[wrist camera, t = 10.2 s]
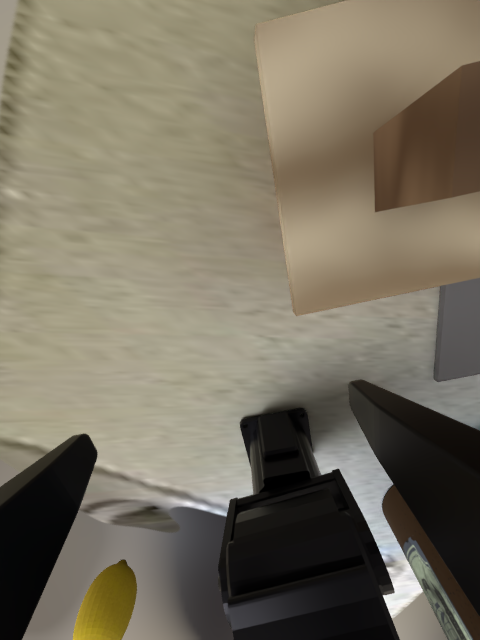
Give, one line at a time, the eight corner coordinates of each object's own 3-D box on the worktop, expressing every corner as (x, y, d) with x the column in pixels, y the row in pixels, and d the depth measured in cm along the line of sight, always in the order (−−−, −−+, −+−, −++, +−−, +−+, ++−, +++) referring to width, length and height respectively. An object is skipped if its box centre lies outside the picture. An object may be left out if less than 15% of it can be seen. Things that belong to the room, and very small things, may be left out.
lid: (505, 267, 14) (656, 282, 9) (293, 312, 15) (324, 349, 10) (555, -39, 10) (886, -324, 5) (254, 39, 10) (273, -146, 5)
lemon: (129, 540, 28) (91, 651, 21) (154, 564, 30) (128, 674, 22) (91, 555, 29) (42, 666, 21) (118, 577, 31) (81, 688, 23)
